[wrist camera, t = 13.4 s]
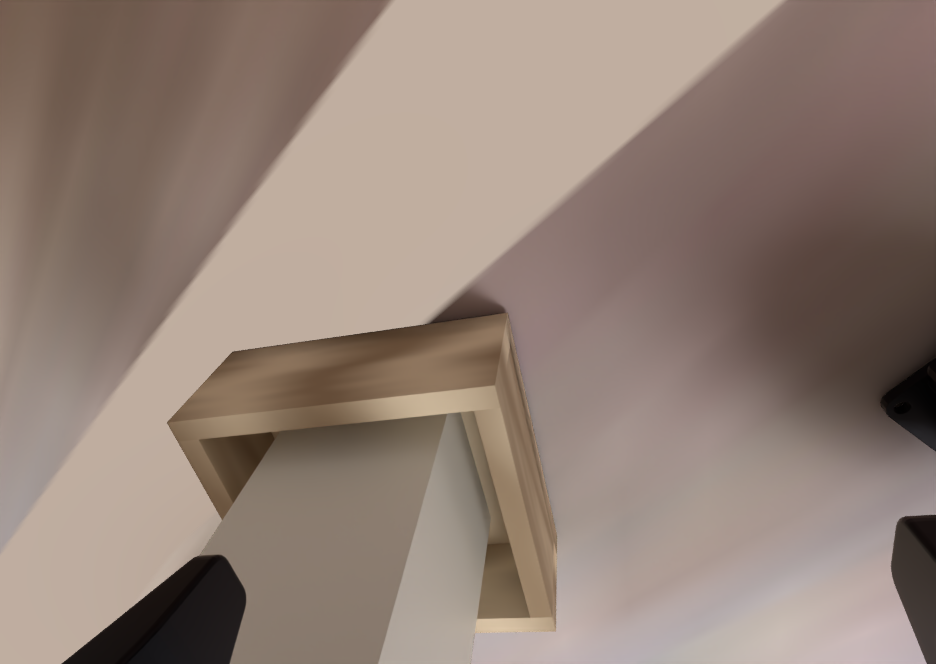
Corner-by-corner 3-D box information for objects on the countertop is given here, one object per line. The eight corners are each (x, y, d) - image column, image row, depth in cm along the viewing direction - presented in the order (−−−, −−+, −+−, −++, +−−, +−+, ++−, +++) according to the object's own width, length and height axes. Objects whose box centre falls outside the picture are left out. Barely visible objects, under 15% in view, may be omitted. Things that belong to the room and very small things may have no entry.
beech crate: (507, 312, 21) (494, 385, 17) (556, 535, 26) (555, 631, 22) (232, 351, 23) (166, 422, 20) (325, 548, 28) (288, 635, 25)
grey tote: (453, 390, 22) (353, 753, 11) (490, 517, 25) (438, 900, 14) (295, 408, 23) (77, 743, 13) (347, 526, 26) (204, 879, 16)
